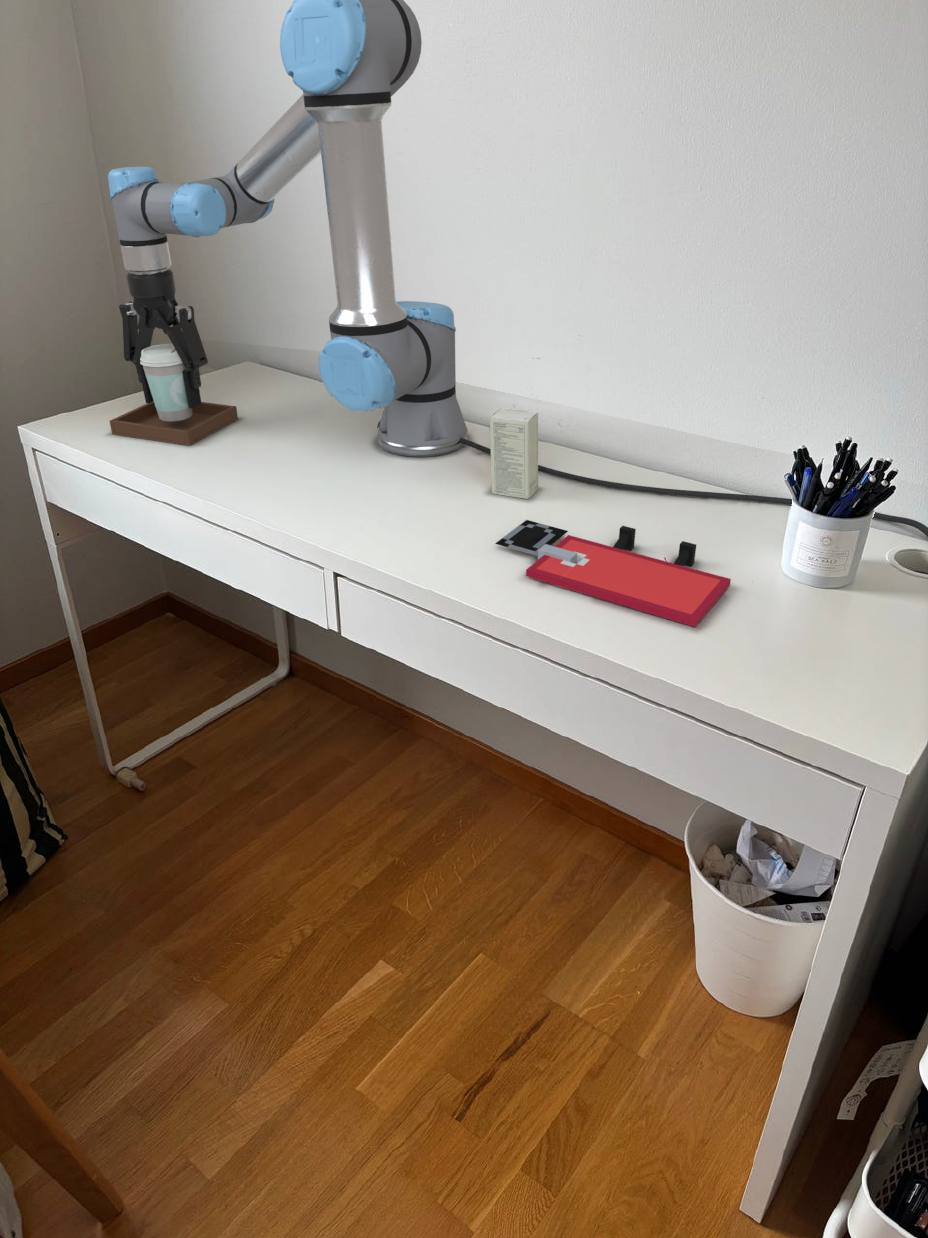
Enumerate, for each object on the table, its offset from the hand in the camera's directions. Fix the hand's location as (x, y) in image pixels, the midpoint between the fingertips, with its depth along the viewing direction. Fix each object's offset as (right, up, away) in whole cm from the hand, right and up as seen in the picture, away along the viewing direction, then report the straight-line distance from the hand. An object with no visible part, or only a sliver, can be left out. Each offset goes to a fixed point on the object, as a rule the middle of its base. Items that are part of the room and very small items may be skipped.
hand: (173, 403), depth 170 cm
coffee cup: (0, -2, +1) cm, 3 cm away
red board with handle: (+70, -32, -47) cm, 90 cm away
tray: (0, -4, +2) cm, 4 cm away
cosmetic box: (+59, -19, -25) cm, 67 cm away
